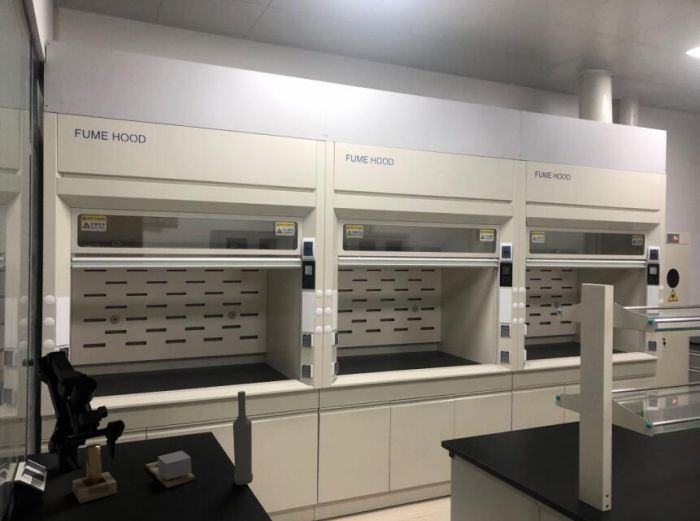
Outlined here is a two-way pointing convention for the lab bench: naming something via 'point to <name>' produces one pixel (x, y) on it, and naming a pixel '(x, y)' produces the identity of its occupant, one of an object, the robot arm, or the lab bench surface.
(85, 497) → the socket block
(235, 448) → the bottle
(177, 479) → the plate
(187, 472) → the cover
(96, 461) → the brass pin
